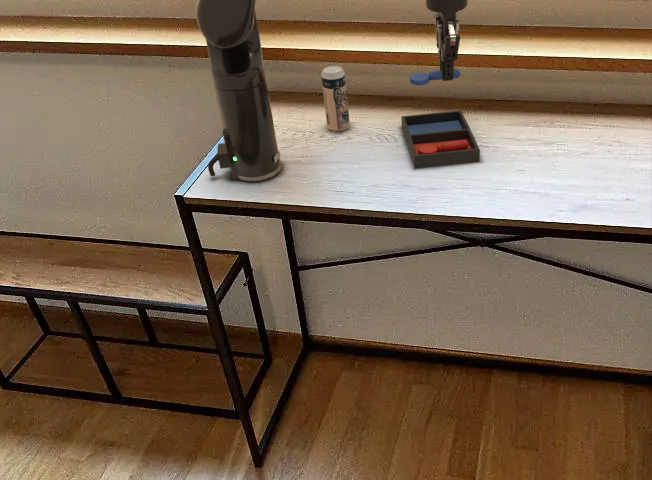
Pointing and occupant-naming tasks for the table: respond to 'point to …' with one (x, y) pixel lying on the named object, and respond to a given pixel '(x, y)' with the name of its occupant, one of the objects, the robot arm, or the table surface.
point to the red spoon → (442, 147)
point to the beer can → (335, 98)
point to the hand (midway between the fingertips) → (446, 77)
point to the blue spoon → (429, 77)
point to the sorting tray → (439, 138)
